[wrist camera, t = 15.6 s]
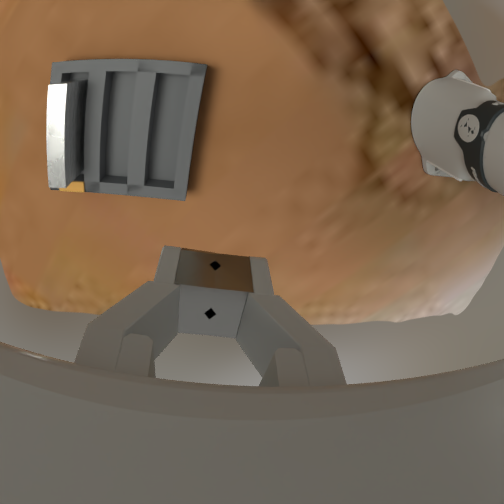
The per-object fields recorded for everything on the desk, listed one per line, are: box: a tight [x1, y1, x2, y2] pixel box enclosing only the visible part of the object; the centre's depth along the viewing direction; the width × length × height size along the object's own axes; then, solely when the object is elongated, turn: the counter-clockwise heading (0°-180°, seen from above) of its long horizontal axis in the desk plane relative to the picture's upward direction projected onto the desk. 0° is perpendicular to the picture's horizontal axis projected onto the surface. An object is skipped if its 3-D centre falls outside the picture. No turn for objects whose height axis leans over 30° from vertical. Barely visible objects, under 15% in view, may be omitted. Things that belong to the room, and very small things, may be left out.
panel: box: [47, 79, 88, 188], centre depth 28 cm, size 2×12×7 cm, turn 168°
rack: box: [50, 59, 207, 201], centre depth 32 cm, size 19×17×4 cm
